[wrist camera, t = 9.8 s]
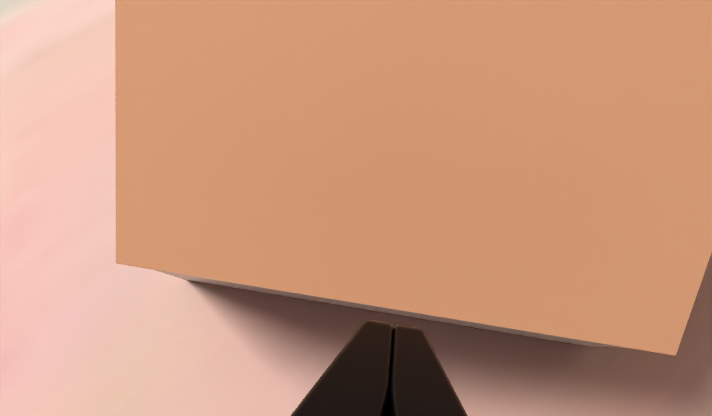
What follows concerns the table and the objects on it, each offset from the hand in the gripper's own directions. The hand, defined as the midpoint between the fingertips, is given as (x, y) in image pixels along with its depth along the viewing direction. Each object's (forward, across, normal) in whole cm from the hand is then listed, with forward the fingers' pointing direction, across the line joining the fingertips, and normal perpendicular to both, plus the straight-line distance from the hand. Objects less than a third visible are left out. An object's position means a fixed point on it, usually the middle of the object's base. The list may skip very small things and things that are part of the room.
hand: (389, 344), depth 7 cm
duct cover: (+6, 0, -1) cm, 6 cm away
